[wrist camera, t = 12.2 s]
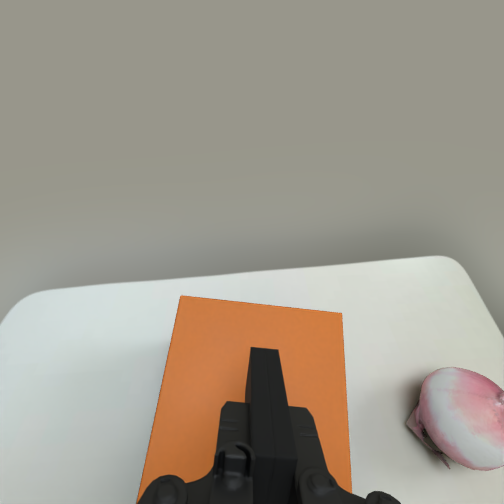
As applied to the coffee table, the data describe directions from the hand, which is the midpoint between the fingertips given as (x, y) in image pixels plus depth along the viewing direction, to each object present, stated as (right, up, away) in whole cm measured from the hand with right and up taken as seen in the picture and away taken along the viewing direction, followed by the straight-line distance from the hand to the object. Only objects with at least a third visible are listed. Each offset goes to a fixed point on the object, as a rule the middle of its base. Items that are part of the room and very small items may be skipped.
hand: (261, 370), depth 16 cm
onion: (+18, -10, +13) cm, 24 cm away
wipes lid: (-1, -5, +4) cm, 6 cm away
